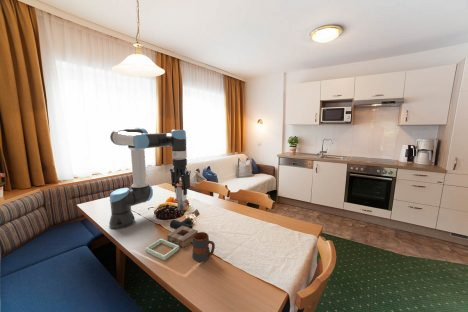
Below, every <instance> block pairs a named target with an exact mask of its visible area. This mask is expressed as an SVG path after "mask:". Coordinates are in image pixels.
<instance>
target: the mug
mask: <svg viewBox="0 0 468 312" xmlns="http://www.w3.org/2000/svg"><path fill="white" fill-rule="evenodd" d="M209 238H210V237H209V234H208V233H207V232H205V231H198V233H196V234H194V235H193V241H192V259H193V260H194V261H196V262H197V263H204V262H206V261H208V259H209V258H210V257H211V256H213V255H214V252H215V250H216V245H215V242H214V241H213V240H210V239H209ZM209 244H210V245H211V249H210V245H209Z"/></svg>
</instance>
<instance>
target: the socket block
mask: <svg viewBox="0 0 468 312" xmlns="http://www.w3.org/2000/svg"><path fill="white" fill-rule="evenodd" d="M198 232H199V230H198V229H197V230H196V229H194V228H193V229H191V228H188V227H185V226H181V227H179V228H178V229H174V230H173V231H172V232H170V233H168V234H167V235H166V236H167V237H166V238H167V239H166V240H167V241H168V242H171V243H173V244H176V245H178V246H179V248H185V247H187V246H188V245H189V244H191V243H193V235H194V234H196V233H198Z"/></svg>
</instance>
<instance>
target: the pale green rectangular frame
mask: <svg viewBox="0 0 468 312" xmlns="http://www.w3.org/2000/svg"><path fill="white" fill-rule="evenodd" d="M160 244H163V245H165V246H167V247H169V248H172V249H171V250H170V251H168V252H167V253H166V254H163V253H161V252H158V251H156V250H154V248H155V247H157V246H158V245H160ZM179 250H180V246H178V245H176V244H173V243H171V242H168V240H167V239H166V240H165V239H163V238H159V239H158V240H156V241H154V242H152V243H150V245H148V246H146V247H145V250H144V251H145V253H148V254H149V255H152V256H153V257H156V258H158V259H160V260H163V261H166V260H167V259H168V258H170V257H171V256H172V255H174V254H175V253H176V252H177V251H179Z"/></svg>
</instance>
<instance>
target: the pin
mask: <svg viewBox="0 0 468 312" xmlns="http://www.w3.org/2000/svg"><path fill="white" fill-rule="evenodd" d="M176 186H177V199H176V200H177V211H184V210H185V209H186V200H185V201H182V189H183V187H182V182H181V181H179V182H178V183H176Z"/></svg>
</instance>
